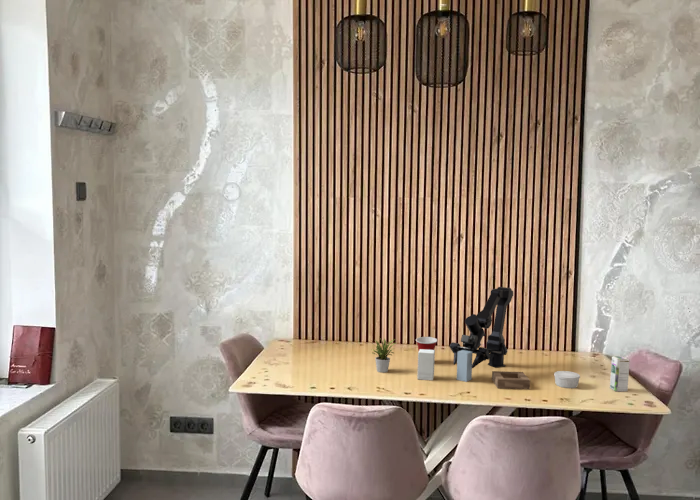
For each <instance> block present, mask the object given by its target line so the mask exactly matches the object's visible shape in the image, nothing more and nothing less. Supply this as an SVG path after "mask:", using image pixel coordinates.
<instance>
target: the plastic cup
mask: <svg viewBox="0 0 700 500" xmlns="http://www.w3.org/2000/svg"><path fill="white" fill-rule="evenodd" d="M415 341H416V344H417V350H418V352H419V349H426V350H435V349H436V345H437V342H438V339H437V338H436V337H432V336H422V337H421V336H419V337H417V338H416V339H415Z"/></svg>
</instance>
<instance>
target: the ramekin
mask: <svg viewBox="0 0 700 500" xmlns="http://www.w3.org/2000/svg"><path fill="white" fill-rule="evenodd" d="M553 373H554V374H553V375H554V382H555V385H556V386H557V387H560V388H564V389H576V388H578V386H579V381H580V378H581V375H580V374H579V373H578V372H573V371H566V370H558V371H555V372H553Z"/></svg>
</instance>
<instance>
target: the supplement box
mask: <svg viewBox="0 0 700 500" xmlns="http://www.w3.org/2000/svg"><path fill="white" fill-rule="evenodd" d="M435 353H436V351H435V349H434V350H426V349H419V351H418V353H417V375H416V376H417V377H416V378H417V380H421V381H422V380H424V381H434V376H435V358H436V356H435Z"/></svg>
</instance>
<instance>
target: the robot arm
mask: <svg viewBox="0 0 700 500" xmlns="http://www.w3.org/2000/svg"><path fill="white" fill-rule="evenodd" d="M513 296H514V291H513V290H512V288H511V287H505V286H498V287H497V288H493V289H491V290H490V295H489V296H488V298H487V301H486V302H485V305H484V306H483V308H482V310H481V311H478V312H477V314H476V313H475V314H474V313H471V315H469V316H467V317H466V318H465V319H464V323H465V326H466V327H467V329H468V331H469V332H470V334H469V335H466V334H462V335H461V338H460V342H461V343H462V345H463V346H461V344H460V343H459V342H454V341H452V342H451V343H450V344H449V348H450V350H451V352H452V353H453V365H457V352H458V351H461V350H466V351H472V352H473V353H472V354H476V355H475V357H474V360H473V361H472V369H474V368H476V367H477V366H479V364H480V363H482V362H484V361H485V362H486V361H487V360H488V363H487V365H488V366H491V367H493V368H501V367H507V366H506V364H505V363H504V362H505V361H504V359H505V358H504V357H505V356H506V355H507V353H508V348H507V346H506V344H505V342H506V340H505V337H504V335H503V333H504V326H505V320H506V315H507V310H508V309H507V308H508V305H510V303H511V302H512V299H513V298H514V297H513ZM494 311H495V314H494V315H495V316H494V321H493V317H492V315H493V313H494ZM492 322H493V323H492ZM492 324H493V327H492V332H491V334H488V336H487V341H486V344H485V345H486V347H482V343H481V342H482V339H483V337H486V331H485V330H484V329H486V330H487V329H489V328H490V327H491V326H492Z"/></svg>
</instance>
